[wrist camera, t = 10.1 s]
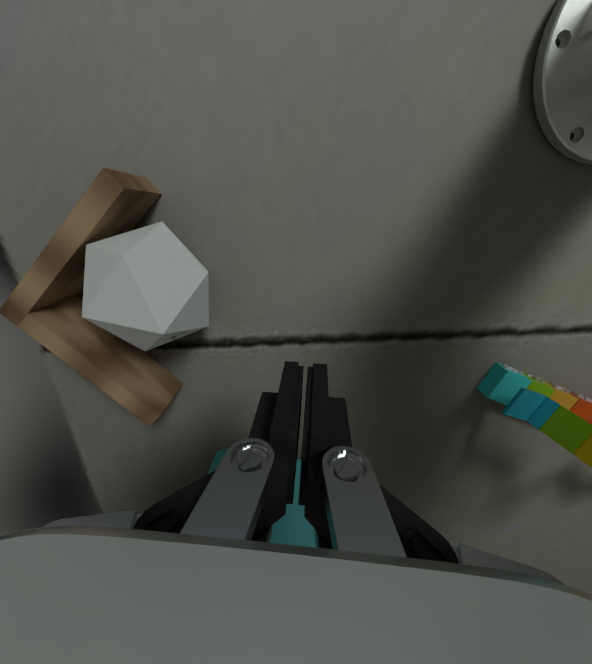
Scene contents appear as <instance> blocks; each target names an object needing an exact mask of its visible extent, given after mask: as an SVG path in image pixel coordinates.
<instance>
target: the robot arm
mask: <svg viewBox="0 0 592 664" xmlns="http://www.w3.org/2000/svg"><path fill="white" fill-rule="evenodd" d="M533 99H534V105H535V110H536V116H537V119H538V121H539V124H540V126H541V128H542V131H543V133H544V135H545V136H546V137H547V139H548V140H549V141H550V143H551V144H552V146H553V147H554V148H556V149H557V150H558V151H559V152H561V153H562V154H563V155H564V156H566V157H568V158H570V159H573V160H575V161H577V162H579V163H584V164H591V165H592V0H558V1H557V3H556V5H555V7H554V10H553V12H552V14H551V16H550V18H549V20H548V22H547V25H546V27H545V29H544V32H543V36H542V39H541V42H540V45H539V48H538V52H537V57H536V63H535V69H534V75H533ZM303 367H304V366H299V362H288V361H285V364H284V369H283V373H282V378H281V383H280V387H279V392H278V393H272V392H262V395H261V398H260V401H259V405H258V408H257V411H256V415H255V418H254V421H253V425H252V428H251V431H250V435H249V438H246V439H242V440H240V441H237V442H236V443H234V444H233V445H231V447H230V448H229V449H228V450H227V452H226V454H225V455H224V457H223V459H222V460H221V462H220V464H219V466H218V467H217V469H216V470H214V471H213V472H211V473H209V474H207V475H206V476H204V477H202V478H200V479H199V480H197V481H195V482H193V483H192V484H190V485H188V486H186V487H184V488H183V489H181V490H179V491H177V492H176V493H174V494H172V495H170V496H169V497H167V498H165V499H163V500H162V501H160V502H158V503H156V504H155V505H153V506H152V507H150V508H149V509H147V510H146V511H145V512H144V513H142V514H136V510H132V511H124V512H116V513H108V514H101V515H92V516H86V517H76V518H69V519H62V520H58V521H54V522H51V523H49V524H47V525H46V526H44V527H42V528H37V529H30V530H24V531H17V532H14V533H10V534H6V535H2V536H0V664H592V595H590V594H588V593H586V592H583V591H581V590H578V589H575V588H572V587H569V586H566V585H564V584H563V583H562V582H560V581H559V580H558V579H556V578H555V577H554V576H552V575H551V574H548V573H546V572H544V571H542V570H540V569H537V568H534V567H531V566H528V565H525V564H522V563H519V562H516V561H513V560H509V559H506V558H503V557H500V556H497V555H494V554H491V553H488V552H485V551H482V550H479V549H476V548H473V547H470V546H466V545H463V544H460V543H459V545H458V547H455V546H452V545H450V544H449V542H448V541H447V540H446V539H445V538H444V537H443V536H442V535H441V534H440V533H439V532H437V531H436V530H435V529H434V528H432V527H431V526H430V525H429V524H427V523H426V522H425V521H424V520H423V519H421V518H420V517H419V516H418V515H416V514H415V513H414V512H413V511H411V510H410V509H409V508H408V507H407V506H405V505H404V504H403V503H402V502H400V501H399V500H398V499H397V498H395V497H394V496H393V495H392V494H391V493H389V492H388V491H387V490H386V489H384V488H383V487H382V486H381V485H379V483H378V480H377V478H376V475H375V472H374V470H373V467H372V464H371V463H370V461H369V459H368V458H367V457H366V456H365V455H364V454H363V453H362V452H361V451H359V450H357V449H355V448H352V444H351V436H350V429H349V422H348V414H347V407H346V400H345V398H334V397H328V377H327V364H315V363H313V367H308V372H307V386H306V400H305V414H304V428H303V443H302V457H301V472H300V486H299V501H298V505H302V506H305V507H304V517H305V518H306V519H307V521H308V522H309V523H310V524H311V525H312V526H313V527H314V529H315V535H314V537H315V545H316V548H315V547H306V546H296V545H287V544H277V543H269V541H270V538H271V534H272V530H273V524H274V523H275V522H277V521H278V520H279V519H280V518H282V517H283V516H284V515H286V505H287V504H292V505H293V498H294V486H295V475H296V463H297V452H298V440H299V429H300V415H301V399H302V383H303Z"/></svg>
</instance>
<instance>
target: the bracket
mask: <svg viewBox="0 0 592 664" xmlns="http://www.w3.org/2000/svg"><path fill="white" fill-rule="evenodd" d="M160 195H161V193H160V192H159V191H158V190H157V189H156V188H155V187H154V185H153V184H152V183H151V182H150V181H149V180H148V179H147V178H145V177H141V176H137V175H133V174H128V173H124V172H120V171H116V170H111V169H107V168H103V169H102V170H101V172H100V173H99V174H98V176H97V177H96V179H95V180H94V181H93V183H92V184H91V185H90V187H89V188H88V190H87V191H86V192H85V194H84V195H83V196H82V198H81V199H80V201H79V202H78V203H77V205H76V206H75V207H74V209H73V210H72V212H71V213H70V214H69V216H68V217H67V218H66V220H65V221H64V222H63V224H62V225H61V227H60V228H59V229H58V231H57V232H56V233H55V235H54V236H53V238H52V239H51V240H50V242H49V243H48V244H47V246H46V247H45V249H44V250H43V251H42V253H41V254H40V255H39V257H38V258H37V259H36V261H35V262H34V264H33V265H32V266H31V268H30V269H29V270H28V272H27V273H26V275H25V276H24V277H23V279H22V280H21V281H20V283H19V284H18V286H17V287H16V288H15V290H14V291H13V292H12V294H11V295H10V296H9V298H8V299H7V300H6V302H5V303H4V305H3V306H2V307H1V309H0V313H1V314H2V315H3V316H5V317H6V318H7V319H9V320H10V321H11V322H13V323H14V324H15V325H17V326H18V327H19V328H21V329H22V330H23V331H24V332H26V333H27V334H28V335H30V336H31V337H32V338H34V339H35V340H36V341H38V342H39V343H40V344H42V345H43V346H44V347H46V348H47V349H48V350H49V351H51V352H52V353H53V354H55V355H56V356H57V357H59V358H60V359H61V360H63V361H64V362H65V363H67V364H68V365H69V366H71V367H72V368H73V369H74V370H76V371H77V372H78V373H80V374H81V375H82V376H84V377H85V378H86V379H88V380H89V381H90V382H92V383H93V384H94V385H96V386H97V387H98V388H99V389H101V390H102V391H103V392H105V393H106V394H107V395H109V396H110V397H111V398H113V399H114V400H115V401H117V402H118V403H119V404H120V405H122V406H123V407H124V408H126V409H127V410H128V411H130V412H131V413H132V414H134V415H135V416H136V417H138V418H139V419H140V420H142V421H143V422H144V423H145V424H147V425H148V426H149V425H150V424H152V423H153V422H154V421H155V420H156V419H157V418H158V417H160V415H161V414H162V413H163V411H164V410H165V408H166V407H167V406H168V404H169V403H170V401H171V400H172V399H173V397H174V396H175V394H176V393H177V392H178V390H179V389H180V388H181V386H182V385H183V383H181V382H180V381H179V380H178V379H177V378H176V377H174V376H173V375H172V374H171V373H170V372H168V371H167V370H166V369H165V368H164V367H162V366H161V365H160V364H159V363H158V362H156V361H155V360H154V359H153V358H152V357H150V356H149V355H148V354H147V353H146V352H145V351H143V350H142V349H140V348H138V347H136V346H134V345H132V344H130V343H129V342H127V341H125V340H123V339H121V338H119V337H118V336H116V335H114V334H112V333H110V332H108V331H107V330H105V329H103V328H101V327H99V326H97V325H95V324H94V323H92V322H90V321H88V320H86V319H84V318H83V317H82V305H83V300H82V299H81V298H80V297H79V296H78V295H79V293H80V292H81V291H82V290H83V288H84V272H85V255H86V245H87V244H90V243H93V242H96V241H100V240H103V239H106V238H109V237H113V236H116V235H119V234H122V233H126V232H129V231H131V230H132V229H133V228H134V227H135V225H136V224H137V223H138V222H139V221H140V219H141V218H142V217H143V216H144V215H145V213H146V212H147V211H148V210H149V209H150V207H151V206H152V205H153V204H154V202H155V201H156V200H157V199H158V198H159V196H160Z"/></svg>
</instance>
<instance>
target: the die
mask: <svg viewBox="0 0 592 664" xmlns="http://www.w3.org/2000/svg"><path fill="white" fill-rule="evenodd" d="M82 317H83V318H84V319H86V320H88V321H90V322H92V323H94V324H95V325H97V326H99V327H101V328H103V329H105V330H107V331H108V332H110V333H112V334H114V335H116V336H118V337H119V338H121V339H123V340H125V341H127V342H129V343H130V344H132V345H134V346H136V347H138V348H140V349H142V350H143V351H147V350H150V349H152V348H155V347H157V346H160V345H163V344H165V343H168V342H170V341H173V340H175V339H178V338H180V337H183V336H185V335H188V334H191V333H193V332H196V331H198V330H201V329H203V328H206V327H208V326H209V286H208V271H207V269H206V268H205V267H204V266H203V265H202V264H201V263H200V261H199V260H198V259H197V258H196V257H195V256H194V255H193V254H192V253H191V252H190V251H189V250H188V249H187V248H186V247H185V245H184V244H183V243H182V242H181V241H180V240H179V239H178V238H177V237H176V236H175V235H174V234H173V233H172V232H171V231H170V230H169V228H168V227H167V226H166V225H165V224H164V223H163V222H158V223H155V224H152V225H149V226H145V227H142V228H139V229H136V230H132V231H129V232H126V233H122V234H119V235H116V236H113V237H109V238H106V239H103V240H100V241H96V242H93V243H90V244H87V245H86V255H85V272H84V288H83V305H82Z"/></svg>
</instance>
